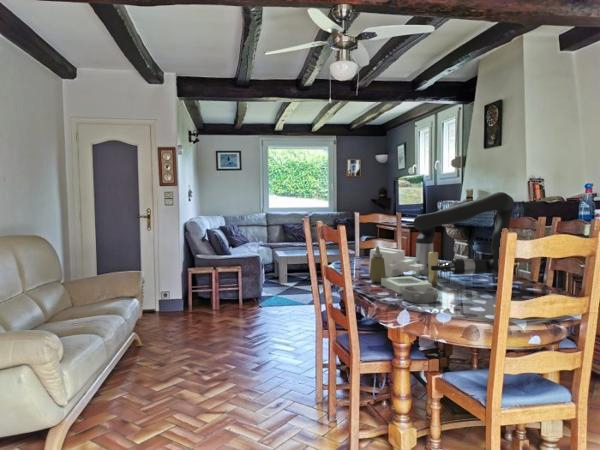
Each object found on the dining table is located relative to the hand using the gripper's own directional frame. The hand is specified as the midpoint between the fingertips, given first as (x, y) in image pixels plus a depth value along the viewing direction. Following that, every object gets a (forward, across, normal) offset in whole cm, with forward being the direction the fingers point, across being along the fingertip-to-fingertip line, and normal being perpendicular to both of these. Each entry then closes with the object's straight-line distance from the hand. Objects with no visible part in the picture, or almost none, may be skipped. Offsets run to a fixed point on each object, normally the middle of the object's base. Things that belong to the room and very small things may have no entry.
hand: (428, 266), depth 206 cm
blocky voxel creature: (+11, -26, +9) cm, 30 cm away
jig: (+13, +7, +9) cm, 17 cm away
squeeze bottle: (+23, -10, +9) cm, 27 cm away
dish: (+12, +30, +9) cm, 34 cm away
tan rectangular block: (-2, 0, +9) cm, 9 cm away
